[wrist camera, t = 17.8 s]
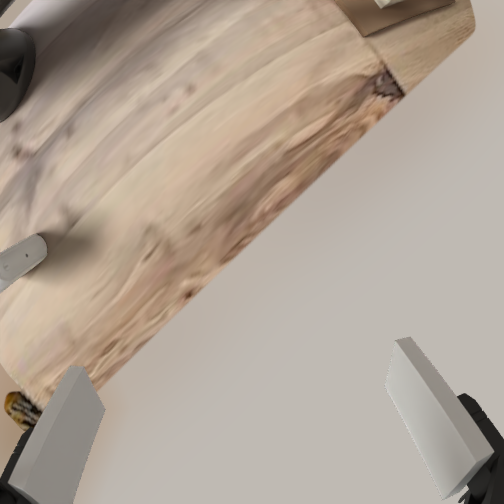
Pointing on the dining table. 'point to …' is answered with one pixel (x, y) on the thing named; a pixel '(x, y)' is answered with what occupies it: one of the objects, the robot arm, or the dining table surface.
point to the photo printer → (21, 259)
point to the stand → (385, 12)
